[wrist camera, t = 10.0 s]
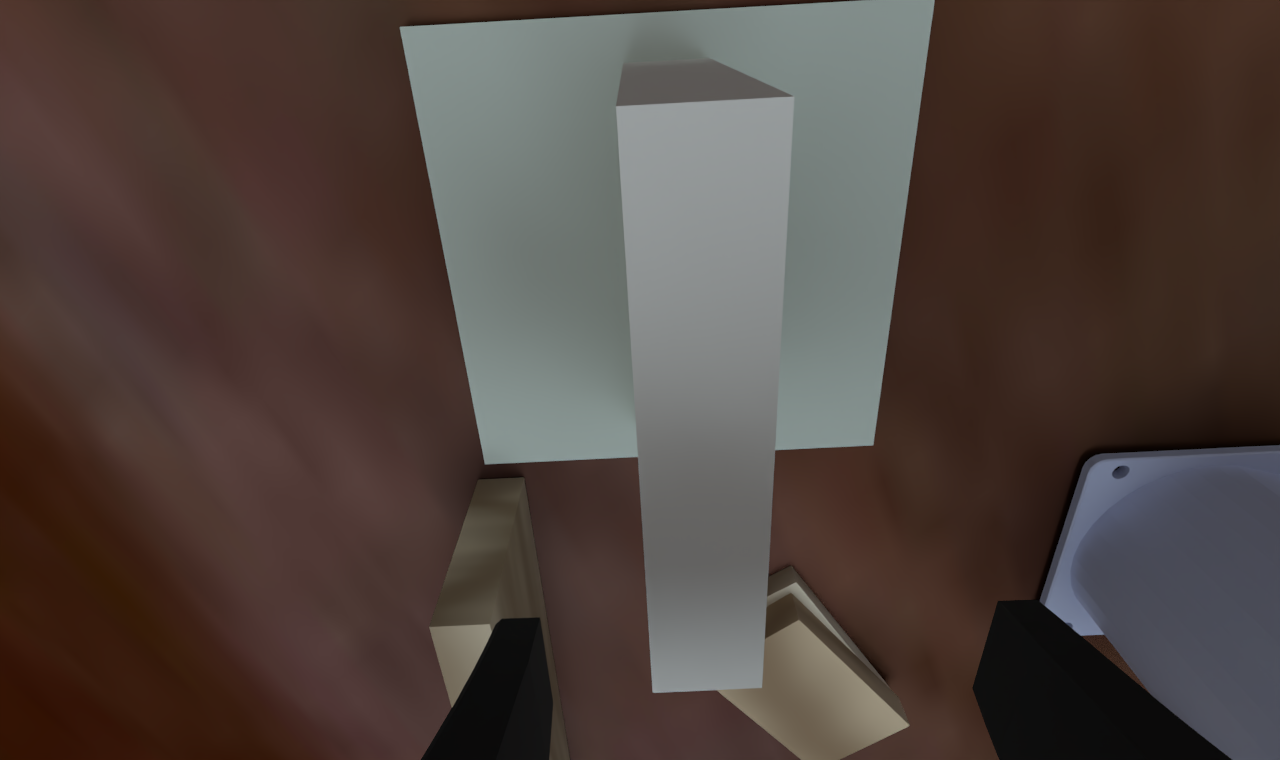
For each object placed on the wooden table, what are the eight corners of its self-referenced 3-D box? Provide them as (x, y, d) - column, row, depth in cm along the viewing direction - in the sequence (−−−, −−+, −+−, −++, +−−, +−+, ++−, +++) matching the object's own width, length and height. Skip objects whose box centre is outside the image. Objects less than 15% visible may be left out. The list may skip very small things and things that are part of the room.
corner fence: (925, 457, 22) (1022, 599, 16) (862, 800, 30) (911, 963, 25) (478, 479, 22) (429, 626, 16) (546, 813, 31) (528, 979, 25)
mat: (924, -3, 15) (935, -4, 15) (867, 434, 21) (873, 445, 21) (407, 26, 16) (399, 26, 15) (488, 453, 21) (484, 464, 21)
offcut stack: (795, 554, 24) (811, 605, 22) (891, 675, 27) (914, 730, 25) (683, 611, 25) (688, 665, 23) (788, 720, 28) (801, 777, 26)
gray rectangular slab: (709, 58, 15) (794, 96, 7) (709, 425, 20) (762, 688, 12) (623, 63, 15) (615, 106, 7) (643, 429, 20) (652, 692, 12)
